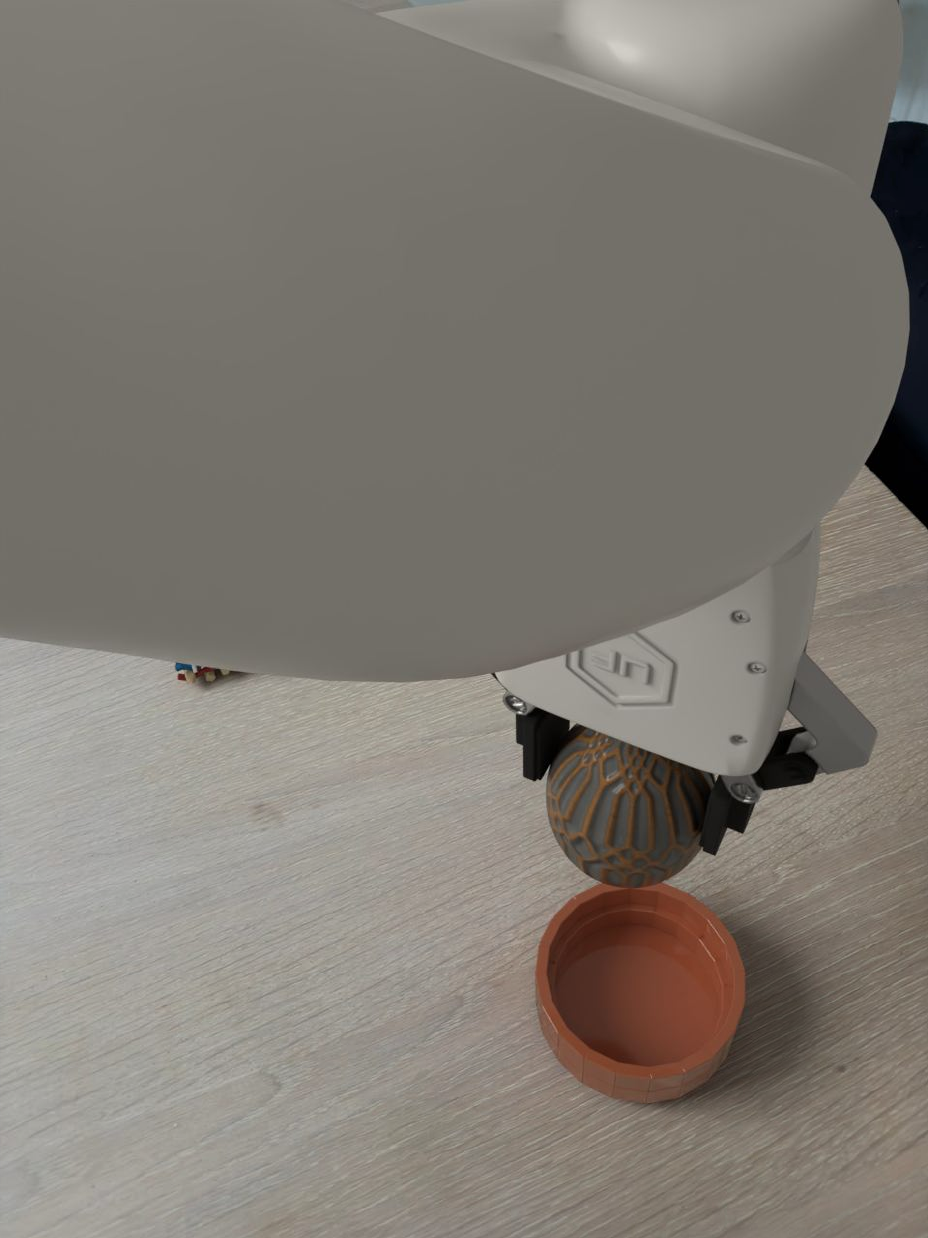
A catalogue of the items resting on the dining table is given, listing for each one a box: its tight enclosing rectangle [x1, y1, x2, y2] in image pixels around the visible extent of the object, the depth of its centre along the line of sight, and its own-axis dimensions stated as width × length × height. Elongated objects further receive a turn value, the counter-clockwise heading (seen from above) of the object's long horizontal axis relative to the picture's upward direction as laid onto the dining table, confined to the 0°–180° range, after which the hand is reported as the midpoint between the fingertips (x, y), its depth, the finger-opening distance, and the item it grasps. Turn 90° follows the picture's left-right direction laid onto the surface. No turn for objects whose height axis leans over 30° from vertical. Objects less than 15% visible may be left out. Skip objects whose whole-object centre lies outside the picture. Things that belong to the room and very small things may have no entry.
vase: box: [545, 723, 717, 888], centre depth 44 cm, size 7×7×9 cm
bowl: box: [534, 882, 747, 1104], centre depth 56 cm, size 10×10×4 cm
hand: (630, 786), depth 44 cm, fingers closed on vase, 6 cm apart
